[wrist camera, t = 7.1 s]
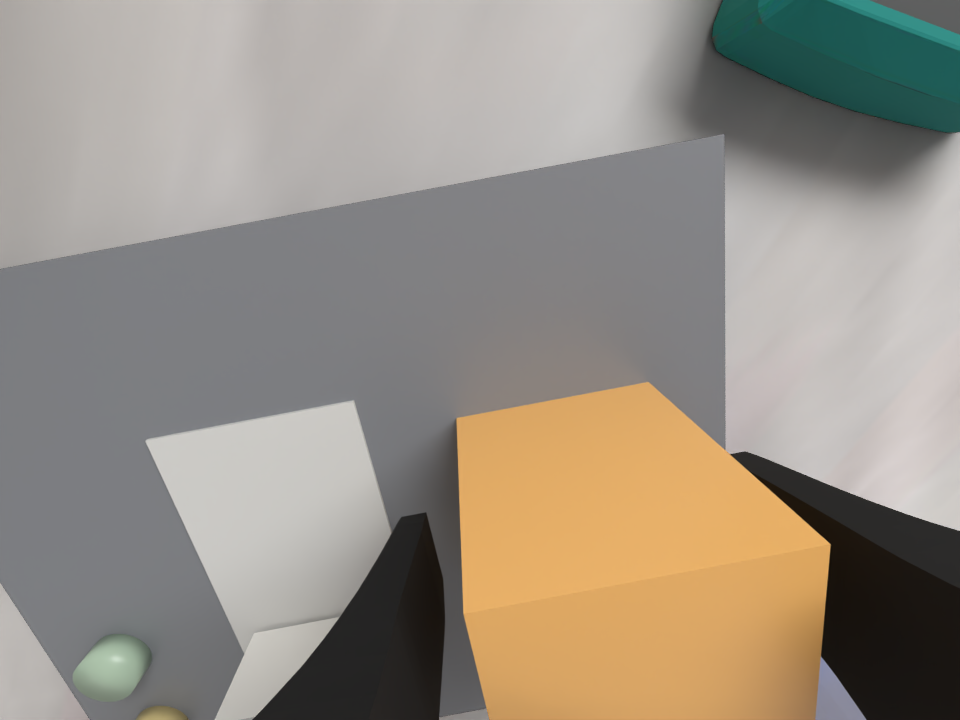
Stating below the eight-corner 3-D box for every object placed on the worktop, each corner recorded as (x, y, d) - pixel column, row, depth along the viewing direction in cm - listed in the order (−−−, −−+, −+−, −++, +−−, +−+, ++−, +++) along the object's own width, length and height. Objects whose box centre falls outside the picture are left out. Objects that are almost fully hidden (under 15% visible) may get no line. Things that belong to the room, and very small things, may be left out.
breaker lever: (408, 666, 14) (399, 772, 12) (280, 690, 14) (241, 803, 12) (390, 607, 13) (375, 706, 11) (253, 633, 13) (205, 738, 11)
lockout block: (658, 539, 14) (809, 782, 8) (488, 571, 13) (518, 837, 8) (648, 381, 12) (831, 544, 6) (456, 418, 12) (463, 614, 6)
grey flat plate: (702, 623, 17) (740, 686, 15) (154, 727, 17) (110, 806, 14) (690, 142, 12) (746, 128, 9) (-105, 290, 11) (-235, 311, 9)
